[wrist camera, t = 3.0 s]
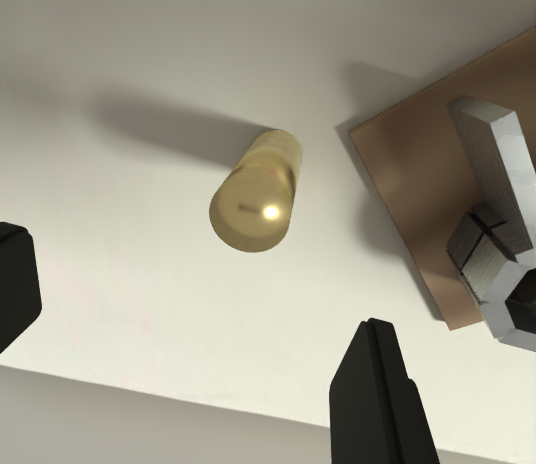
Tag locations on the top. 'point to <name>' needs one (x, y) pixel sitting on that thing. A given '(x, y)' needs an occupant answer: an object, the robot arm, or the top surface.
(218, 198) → the hinge pin
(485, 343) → the top surface
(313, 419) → the top surface
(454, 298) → the hinge base
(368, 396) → the robot arm
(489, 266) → the hinge
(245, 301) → the top surface
